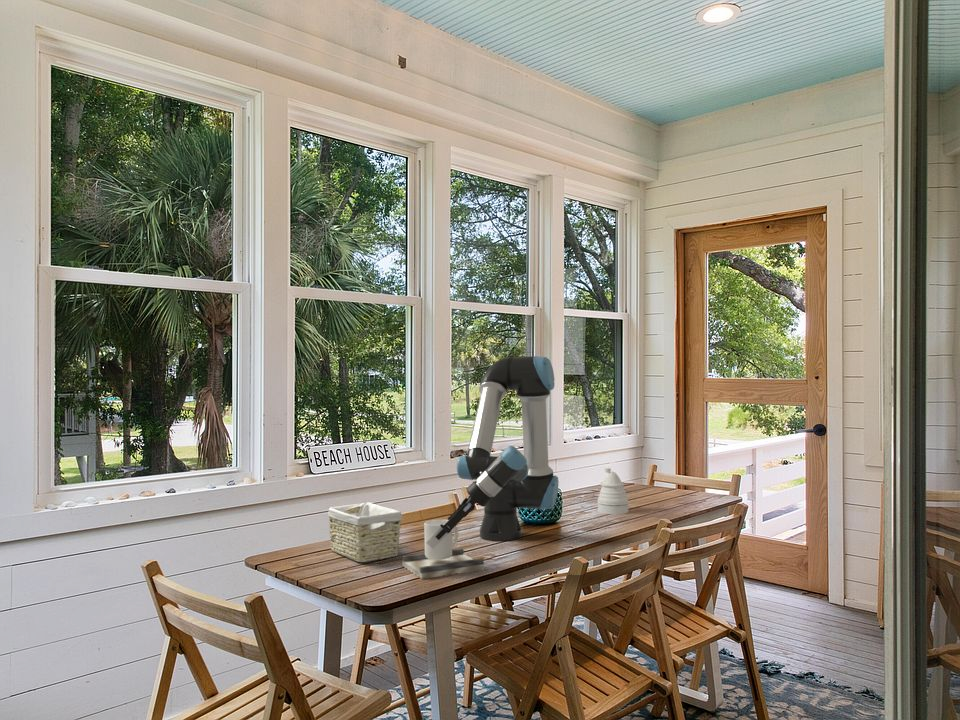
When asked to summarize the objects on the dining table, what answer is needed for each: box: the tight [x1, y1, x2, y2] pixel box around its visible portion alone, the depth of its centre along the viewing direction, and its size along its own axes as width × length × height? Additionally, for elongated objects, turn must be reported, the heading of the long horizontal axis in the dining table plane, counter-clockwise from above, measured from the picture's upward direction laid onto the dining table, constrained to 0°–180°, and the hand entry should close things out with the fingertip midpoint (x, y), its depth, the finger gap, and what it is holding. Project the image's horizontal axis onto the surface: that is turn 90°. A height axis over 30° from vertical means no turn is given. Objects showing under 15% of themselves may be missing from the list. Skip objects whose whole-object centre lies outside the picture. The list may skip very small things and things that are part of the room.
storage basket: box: [327, 501, 403, 563], centre depth 227 cm, size 24×16×15 cm
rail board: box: [401, 548, 485, 580], centre depth 209 cm, size 20×16×3 cm
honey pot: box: [597, 467, 629, 515], centre depth 295 cm, size 13×13×18 cm
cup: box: [423, 519, 459, 560], centre depth 210 cm, size 8×12×10 cm
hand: (432, 541), depth 209 cm, fingers closed on cup, 10 cm apart
